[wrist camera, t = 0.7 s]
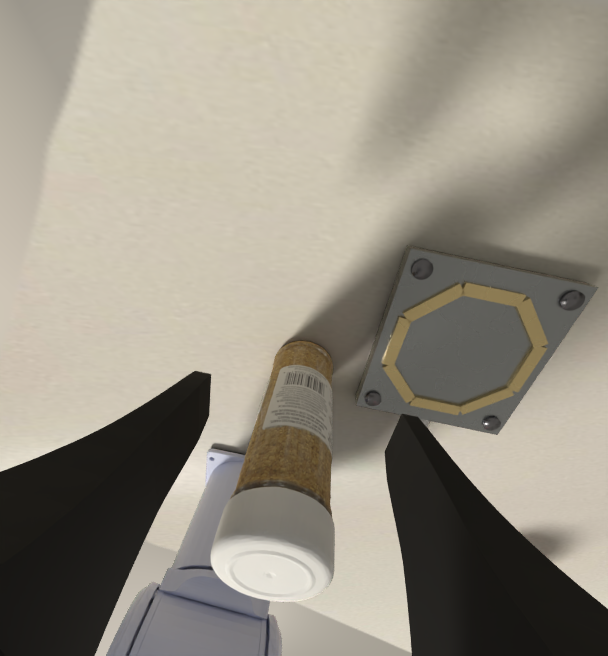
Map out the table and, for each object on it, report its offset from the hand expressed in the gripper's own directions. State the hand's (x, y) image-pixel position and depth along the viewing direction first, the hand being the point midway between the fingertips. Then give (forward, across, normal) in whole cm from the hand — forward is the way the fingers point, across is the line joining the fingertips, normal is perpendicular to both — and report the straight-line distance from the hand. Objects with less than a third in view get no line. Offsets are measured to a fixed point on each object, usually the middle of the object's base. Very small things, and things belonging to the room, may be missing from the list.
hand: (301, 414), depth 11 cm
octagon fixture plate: (+10, -10, +2) cm, 14 cm away
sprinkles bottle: (+10, 0, +5) cm, 11 cm away
